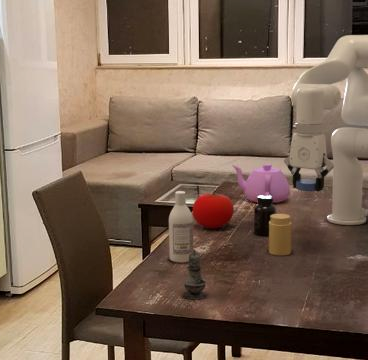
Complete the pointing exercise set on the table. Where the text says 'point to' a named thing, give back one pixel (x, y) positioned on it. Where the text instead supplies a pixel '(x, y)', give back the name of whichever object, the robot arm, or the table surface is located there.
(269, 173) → the teapot
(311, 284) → the table surface
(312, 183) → the lid
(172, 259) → the bath foam
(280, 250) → the jar
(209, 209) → the tomato
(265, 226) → the supplement bottle
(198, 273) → the dark grey figurine
